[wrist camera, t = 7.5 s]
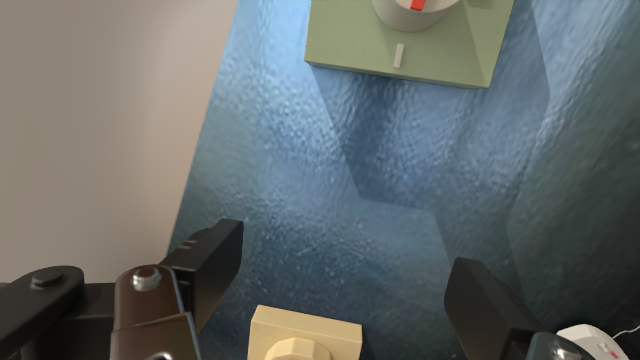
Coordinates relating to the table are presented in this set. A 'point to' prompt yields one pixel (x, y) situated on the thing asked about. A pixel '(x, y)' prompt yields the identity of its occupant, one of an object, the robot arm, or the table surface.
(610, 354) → the game controller
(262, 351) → the button box
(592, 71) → the table surface
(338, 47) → the dial panel
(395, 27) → the dial
